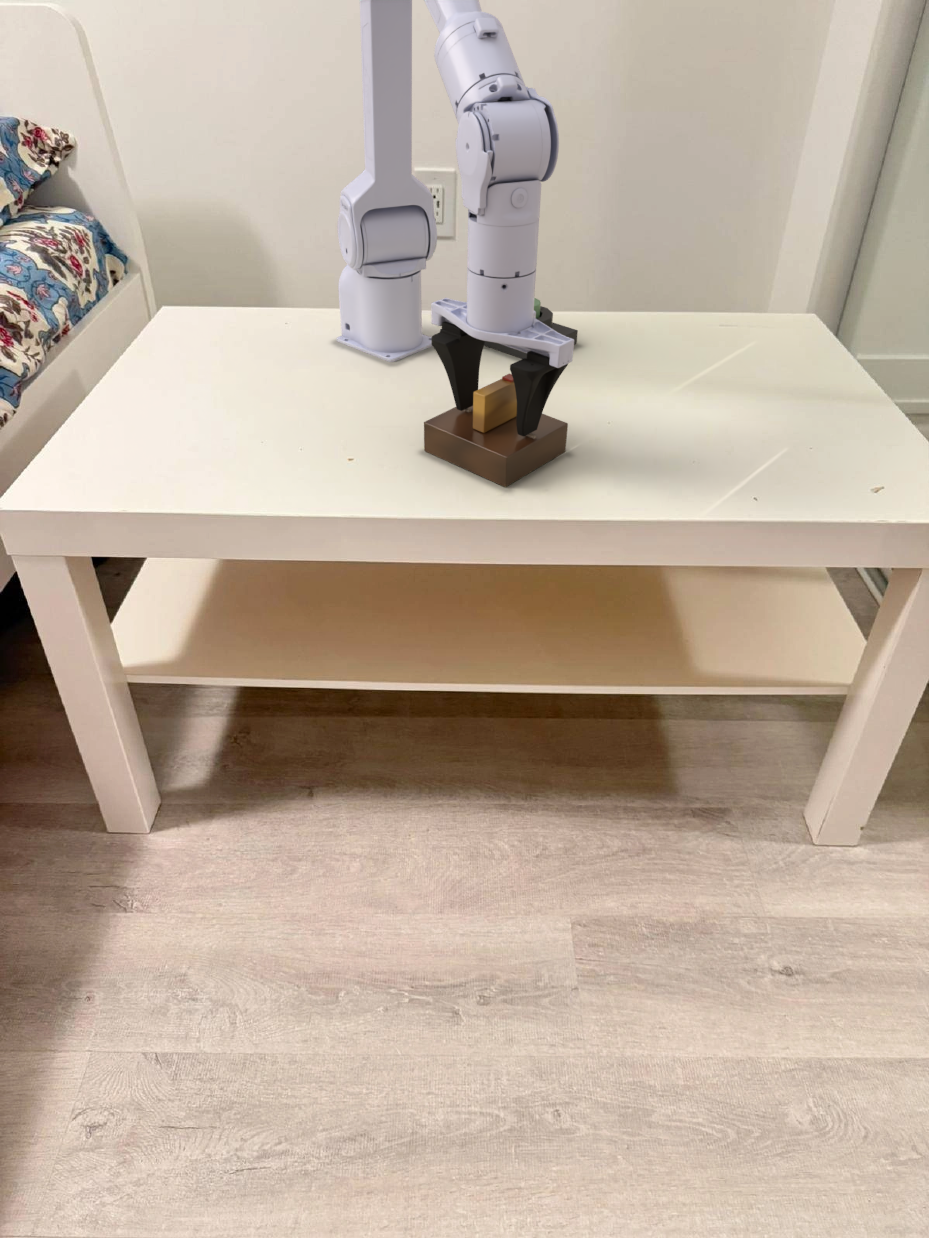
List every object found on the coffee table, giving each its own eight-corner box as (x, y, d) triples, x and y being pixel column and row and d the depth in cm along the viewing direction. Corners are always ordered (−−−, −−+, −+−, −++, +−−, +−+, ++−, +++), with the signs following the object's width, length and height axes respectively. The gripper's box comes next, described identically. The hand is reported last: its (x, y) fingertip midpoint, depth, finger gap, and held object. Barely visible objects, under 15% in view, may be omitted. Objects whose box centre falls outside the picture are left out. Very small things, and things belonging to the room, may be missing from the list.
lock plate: (423, 451, 83) (423, 420, 81) (485, 419, 88) (486, 390, 86) (505, 487, 78) (506, 456, 76) (565, 452, 83) (568, 421, 81)
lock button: (502, 317, 102) (503, 301, 101) (521, 309, 104) (522, 294, 103) (526, 324, 100) (527, 309, 99) (545, 316, 103) (546, 301, 102)
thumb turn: (484, 433, 80) (485, 393, 77) (472, 428, 80) (473, 389, 78) (518, 415, 82) (521, 376, 80) (507, 411, 83) (509, 372, 81)
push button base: (469, 340, 105) (469, 311, 102) (511, 323, 109) (512, 294, 107) (535, 363, 100) (537, 333, 97) (576, 344, 104) (579, 314, 102)
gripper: (601, 276, 71) (585, 429, 80) (468, 239, 79) (466, 383, 87) (548, 297, 67) (537, 456, 76) (413, 257, 75) (416, 405, 83)
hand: (496, 419), depth 81 cm, fingers open, 7 cm apart
